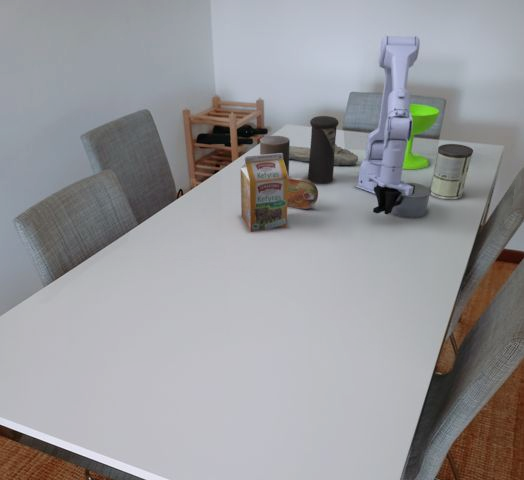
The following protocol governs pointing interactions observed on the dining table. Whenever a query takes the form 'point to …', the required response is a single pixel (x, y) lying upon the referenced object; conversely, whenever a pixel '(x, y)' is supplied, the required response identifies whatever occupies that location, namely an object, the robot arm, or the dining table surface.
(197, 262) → the dining table surface
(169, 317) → the dining table surface
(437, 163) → the coffee can
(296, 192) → the tin
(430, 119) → the wineglass
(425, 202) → the saucepan
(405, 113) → the robot arm
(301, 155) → the elongated rock
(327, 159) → the container
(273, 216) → the milk carton
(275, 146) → the pillar candle
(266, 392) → the dining table surface
